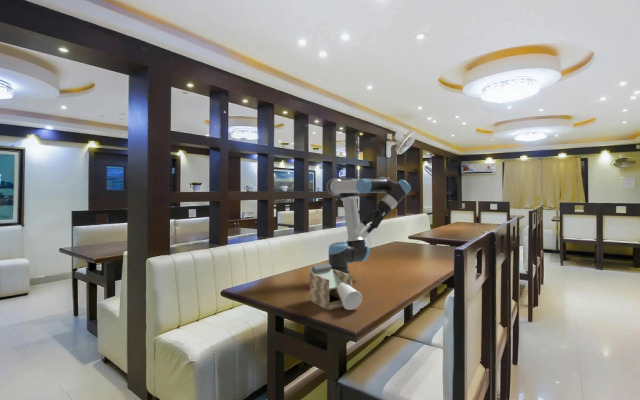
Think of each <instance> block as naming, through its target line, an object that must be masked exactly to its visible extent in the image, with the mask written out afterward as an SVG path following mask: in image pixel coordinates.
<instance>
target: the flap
mask: <svg viewBox="0 0 640 400" xmlns="http://www.w3.org/2000/svg"><path fill="white" fill-rule="evenodd" d="M331 267H332V266H331V265H330V264H329V262H328V263H327V262H326V263H322V264H314V265H312V267H311V269H310V270H309V274H310V273H313V274H315V275H318V276H320V277H323V278H325V279H328V280H329V290H332V289H337V287H338V285H339V284H341V283H343V282H342V281H341V279H340V278H339V277H338V276H337V275H336V274H335V272H334V271H333V270H332V269H331Z"/></svg>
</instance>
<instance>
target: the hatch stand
mask: <svg viewBox="0 0 640 400" xmlns="http://www.w3.org/2000/svg"><path fill="white" fill-rule="evenodd" d="M332 270H333V271H334V272H335V274H336V275H337V276H338V277H339V278H340V279H341V281H342V282H344V283H347V284H348V285H349V286H351V287H352V288H353V275H352V274H350V273H349V274H347V273H344V272H341V271H338V270H335V269H332ZM330 297H335V298H337V299H339V300H335V301H330ZM309 302H311V303H314V304H316V305H317V306H319V307H321V308H324V309H325V310H327V311H331V310H335V309H339V308H342V307H343V308H344V306H343V303H342V301H341V299H340V297H339V295H338V292H337V289H332V290H329V280H328V279H325V278H323V277H320V276H318V275H315V274H313V273H310V272H309Z"/></svg>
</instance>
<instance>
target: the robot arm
mask: <svg viewBox="0 0 640 400" xmlns="http://www.w3.org/2000/svg"><path fill="white" fill-rule="evenodd" d="M325 189H326V191H327V192H328V194H329V195H331V196H333V197H340V198H339V199H340V200H341V201H342V202H343V209H344V217H345V225H346V231H347V239H346V242H345V241H340V242H339V241H337V242H334V243H331V244H330V245H329V246H328V263H329V264H330V265H331V266H332V267H331V269H335V270H338V271H341V272H344V273H347V274H350V271H349V264H353V263H360V262H364V261H366V260H367V259H368V258H369V256H370V253H371V250H370V249H371V248H370V245H369V244H368V243H367V242H365V239H366V238H367V237H368V236H369V235H370V233H372V232H373V230H374V229H378V227H379V226H380V224H381V223H382V221H383V220H384V218H385V217H386V216H389V214H390V213H391V212H392V211H393V209H395V208H397V205H399V203H401V201H402V200H403V199H404V198H405V197H406V196H407V195H408V194H409V192H410V191H411V190H412V186H411V185H410V183H408V182H407V181H406V179H405V180H404V179H399V180H398V181H394V180H392V179H390V178H389V177H384V176H381V177H378V178H364V177H363V178H358V179H357V178H352V177H334V178H331V179H329V181H327V183H326V188H325ZM360 194H385V195H384V197H382V199H381V200H380V201H379V202H378V203H377V204H376V208H377V209H373V211H371V212H370V213H369V214H368V215H366V216H365V217H364V218H363V219H362V220H361V221H360V215H359V209H358V201H357V200H358V198H359V195H360ZM368 224H369V225H368ZM367 225H368V226H367ZM364 228H365V229H364Z"/></svg>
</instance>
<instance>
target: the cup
mask: <svg viewBox="0 0 640 400" xmlns="http://www.w3.org/2000/svg"><path fill="white" fill-rule="evenodd" d="M337 292H338V295H339V297H340V299H339V300H341V301H342V303H343V308H344V309H345V310H347V311H351V310H354V309H356V308H358V307H359V305H361V302H362V301H363V295H362V293H361V292H360V291H358V290H356V289H355V288H354V287H353V286H352V287H351V286H349V285H348V284H347V283H344V282H343V283H341V284H339V285H338V287H337Z"/></svg>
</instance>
